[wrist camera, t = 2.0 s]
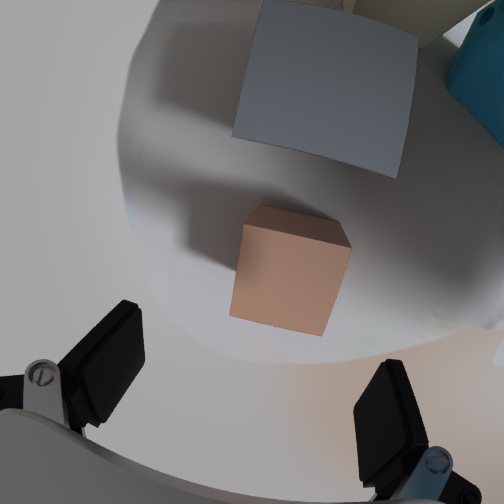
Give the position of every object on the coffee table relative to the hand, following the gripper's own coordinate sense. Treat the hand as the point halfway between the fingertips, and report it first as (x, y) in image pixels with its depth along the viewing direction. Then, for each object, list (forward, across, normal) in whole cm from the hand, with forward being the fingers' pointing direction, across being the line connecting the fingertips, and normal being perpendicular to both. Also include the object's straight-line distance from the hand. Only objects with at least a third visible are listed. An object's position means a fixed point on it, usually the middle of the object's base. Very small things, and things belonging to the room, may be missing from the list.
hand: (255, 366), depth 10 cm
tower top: (+8, -1, -11) cm, 14 cm away
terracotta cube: (+13, -1, 0) cm, 13 cm away
